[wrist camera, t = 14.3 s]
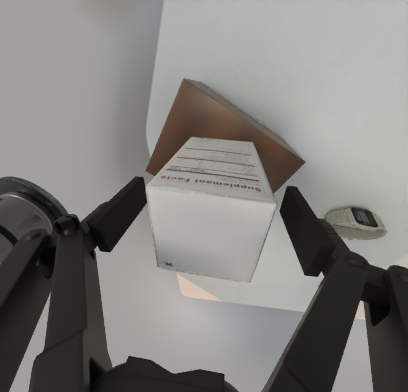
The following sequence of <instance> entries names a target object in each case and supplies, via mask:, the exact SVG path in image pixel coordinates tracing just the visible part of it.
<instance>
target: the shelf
mask: <svg viewBox="0 0 408 392" xmlns="http://www.w3.org/2000/svg"><path fill="white" fill-rule="evenodd" d="M191 137H200V138H212V139H223V140H234V141H246V142H253V143H254V146H255V148H256V151H257V153H258V156H259V158H260V161H261V163H262V166H263V169H264V171H265V174H266V177H267V179H268V182H269V184H270V187H271V189H272V192H273V194H274V193H275V192H276V191H277V190H278V189H279V188H280V187H281V186H282V185H283V184H284V183H285V182H286V181H287V180H288V179H289V178H290V177H291V176H292V175H293V174H294V173H295V172H296V171H297V170H298V169H299V168H300V167H301V166H302V165H303V164H304V163H305V161H304V160H303V159H302V158H301V157H300V156H299V155H298V154H297V153H296V152H295V151H294V150H293V149H292V148H291V147H290V146H289V145H288V144H287V143H286V142H285V141H284V140H283V139H282V138H280V137H279V136H278V135H276V134H275V133H273V132H272V131H270V130H269V129H267V128H266V127H265V126H263V125H262V124H260V123H259V122H257V121H256V120H255V119H253V118H252V117H250V116H249V115H247V114H246V113H244V112H243V111H242V110H240V109H239V108H237V107H236V106H234V105H233V104H232V103H230V102H229V101H227V100H226V99H224V98H223V97H222V96H220V95H219V94H217V93H216V92H214V91H213V90H211V89H210V88H209V87H207V86H206V85H204V84H203V83H201V82H199V81H195V80H190V79H183V81H182V83H181V86H180V88H179V91H178V93H177V96H176V98H175V100H174V103H173V105H172V108H171V110H170V113H169V115H168V118H167V120H166V122H165V125H164V127H163V130H162V132H161V135H160V137H159V139H158V142H157V144H156V147H155V149H154V152H153V154H152V157H151V159H150V161H149V164H148V166H147V169H146V171H147V172H149V173H150V174H152V175H154V176H156V175H157V174H158V173H159V172H160V170H161V169H162V168H163V167H164V166H165V165H166V164H167V163H168V162H169V161H170V160H171V158H172V157H173V156H174V155H175V154H176V153H177V152H178V151H179V150H180V149H181V148H182V146H183V145H184V144H185V143H186V142H187V141H188V140H189V139H190V138H191Z"/></svg>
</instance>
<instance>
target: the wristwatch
mask: <svg viewBox="0 0 408 392" xmlns="http://www.w3.org/2000/svg"><path fill="white" fill-rule="evenodd" d="M325 220H326V221H327V222H329V223H330V224H331V225H332V227H333V228H334V229H335V231H336V232H337V233H338V235H339V236H340V237H343V238H345V239H349V240H353V239H358V240H368V239H369V240H370V239H376V238H380V237H383V236H384V235H386V233H387V231H386V229H385V227H384V225H383V224H382V222H381V220H380V218H379V217H377V216H376V214H374V213H372V212H370V211H368V210H366V209H363V208H356V207H352V206H351V207H350V208H348V209H344V210H343V209H341V210H336V211H332V212H330V213H329V214H327V215H326V217H325ZM347 221H348V223H351V224H353V225H355V226H357V227H358V228H359V229H361V230H356V229H350V228H346V227H342V226H341V227H340V226H336V225H333V224H335V223H339V222H347Z"/></svg>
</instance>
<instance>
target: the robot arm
mask: <svg viewBox="0 0 408 392" xmlns="http://www.w3.org/2000/svg"><path fill="white" fill-rule="evenodd" d="M146 203H147V196H146V188H145V183H144V178H143V177H135V178H134V179H132V180H131V181H130V182H129V183H128V184H127V185H126V186H125V187H124V188H123V189H122V190H120V191H119V192H118V193H117V194H116V195H115V196H114V197H113V198H112V199H111V200H110V201H108V202H105V203H103V204H101V205H99V206H98V207H97V208H96V209H95V210H94V211H93V212H92V213H90V214H89V215H88V216H87V217H86V218H85V219H84V220H82V221H81V222H80V221H79V219H78V217H77V216H76V215H74V214H69V215H65V216H62V217H60V218H58V219H56V220H55V219H54V217H53V216H52V214H51V213H50V212H49V211H48V210H47V209H46V208H45V207H44V206H43V205H42V204H41V203H39V202H38V201H36V200H35V199H33V198H31V197H29V196H27V195H25V194H22V193H18V192H8V193H5V194H3V195H1V196H0V263H1V264H0V392H9V390H10V388H11V385H12V383H13V380H14V378H15V376H16V373H17V371H18V369H19V366H20V364H21V361H22V359H23V357H24V354H25V352H26V349H27V347H28V344H29V342H30V340H31V337H32V335H33V332H34V330H35V328H36V325H37V323H38V320H39V318H40V316H41V313H42V311H43V309H44V306H45V304H46V302H47V299H48V297H49V294H50V292H51V297H50V306H49V314H48V322H47V330H46V338H45V346H44V350H43V352H42V353H41V354H39V355H37V357H36V359H35V360H34V363H33V367H32V373H31V379H30V385H29V392H238V390H237V389H235V388H234V387H233V386H232V385H231V384H230V383H228V382H226V381H225V380H224V374H222V373H217V372H211V371H206V370H201V369H199V370H194V371H188V372H182V373H177V374H173V373H171V372H169V371H167V370H166V369H164V368H163V367H161V366H160V365H158V364H156V363H155V362H153V361H151V360H147V359H143V358H137V357H132V356H129V357H128V359H127V362H126V363H123V364H120V365H118V366H115V367H113V368H112V363H111V360H110V357H109V354H108V350H107V342H106V334H105V326H104V318H103V310H102V301H101V293H100V285H99V277H98V269H97V261H96V253H95V251H94V249H95V248H96V246H98V247H99V250H100V251H103V252H111V251H112V249H113V248H114V246H115V245H116V244H117V243H118V241H119V240H120V238H121V237H122V236H123V234H124V233H125V232H126V230H127V229H128V228H129V226H130V225H131V224H132V222H133V221H134V220H135V218H136V217H137V216H138V214H139V213H140V211H141V210H142V209H143V207H144V206H145V205H146ZM280 214H281V216H282V219H283V221H284V224H285V226H286V229H287V232H288V234H289V237H290V239H291V242H292V244H293V247H294V249H295V252H296V254H297V257H298V259H299V262H300V264H301V267H302V269H303V272H304V275H306V276H314V277H318V276H319V274H320V273H321V271H322V273H323V275H324V279H323V280H322V282H321V283H320V285H319V288H318V290H317V291H316V293H315V295H314V297H313V299H312V301H311V302H310V304H309V306H308V308H307V310H306V312H305V314H304V315H303V317H302V319H301V321H300V323H299V324H298V326H297V328H296V330H295V332H294V334H293V336H292V338H291V339H290V341H289V343H288V345H287V346H286V348H285V350H284V352H283V354H282V356H281V358H280V359H279V361H278V363H277V365H276V367H275V369H274V371H273V372H272V374H271V376H270V378H269V380H268V381H267V383H266V385H265V386H264V388H263V390H262V392H331V390H332V387H333V384H334V381H335V378H336V375H337V371H338V368H339V365H340V362H341V358H342V356H343V352H344V349H345V346H346V343H347V339H348V336H349V333H350V330H351V327H352V324H353V321H354V318H355V315H356V311H357V308H358V305H359V302H360V300H361V301H364V309H365V319H366V327H367V337H368V346H369V355H370V364H371V374H372V382H373V391H374V392H408V269H407V268H405V267H401V266H398V265H392V266H390V267H389V268H388V269H387V270H385V269H382V268H379V267H376V266H372V265H370V264H369V263H368V261H367V260H366V259H365V258H363V257H362V256H360V255H359V254H357V253H355V252H352V251H350V250H349V248H348V247H347V246H346V244H345V243H344V242H343V240H342V239H341V237H340V236H339V235H338V233H337V232H336V231H335V229H334V228H333V227H332V225H331V224H330V223H329V222H327V221H326V220H325V219H318V218H317V217H316V215H315V214H314V212H313V211H312V209H311V208H310V206H309V205H308V203H307V202H306V200H305V199H304V197H303V196H302V194H301V193H300V191H299V190H298V188H297V187H294V186H287V188H286V191H285V195H284V198H283V201H282V205H281V208H280ZM55 230H56V232H57V233H52V232H54V231H55Z"/></svg>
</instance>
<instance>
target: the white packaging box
mask: <svg viewBox="0 0 408 392" xmlns="http://www.w3.org/2000/svg"><path fill="white" fill-rule="evenodd" d="M146 196H147V203H148V207H149V215H150V221H151V227H152V235H153V241H154V247H155V252H156V260H157V266H158V267H159V268H163V269H168V270H173V271H178V272H184V273H190V274H197V275H203V276H209V277H215V278H221V279H228V280H233V281H239V282H248V283H249V282H251V280H252V277H253V274H254V271H255V269H256V266H257V263H258V260H259V257H260V254H261V252H262V249H263V246H264V243H265V240H266V237H267V234H268V231H269V228H270V225H271V222H272V219H273V216H274V213H275V210H276V208H277V202H276V200H275V198H274V195H273V192H272V189H271V187H270V184H269V182H268V179H267V177H266V174H265V171H264V169H263V166H262V163H261V161H260V158H259V156H258V153H257V151H256V148H255V146H254V143H253V142H246V141H234V140H223V139H212V138H200V137H191V138H190V139H189V140H188V141H187V142H186V143H185V144H184V145H183V146H182V148H181V149H180V150H179V151H178V152H177V153H176V154H175V155H174V156H173V157H172V158H171V160H170V161H169V162H168V163H167V164H166V165H165V166H164V167H163V168H162V169H161V170H160V172H159V173H158V174H157V175H156V176H155V177H154V178H153V179H152V180H151V181H150V182H149V183H148V184H147V186H146Z"/></svg>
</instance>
